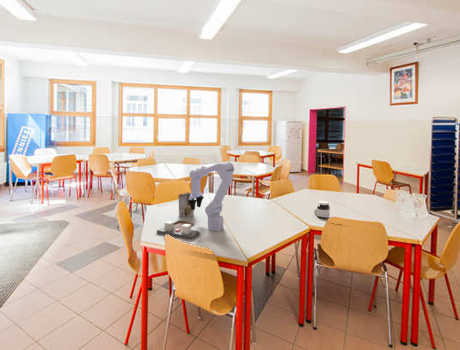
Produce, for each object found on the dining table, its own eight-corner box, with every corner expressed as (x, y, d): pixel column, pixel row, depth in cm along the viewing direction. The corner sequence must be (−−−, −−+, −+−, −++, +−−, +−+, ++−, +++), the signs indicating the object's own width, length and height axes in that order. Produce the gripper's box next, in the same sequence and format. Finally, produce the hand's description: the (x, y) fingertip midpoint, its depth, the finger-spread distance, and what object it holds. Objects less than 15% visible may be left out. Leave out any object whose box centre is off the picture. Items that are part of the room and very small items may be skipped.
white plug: (191, 235, 177) (191, 224, 175) (187, 238, 173) (187, 226, 172) (185, 234, 178) (185, 223, 177) (181, 237, 174) (181, 225, 173)
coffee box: (187, 213, 221) (187, 192, 219) (194, 215, 217) (193, 193, 215) (178, 216, 214) (178, 194, 212) (184, 218, 210) (184, 195, 208)
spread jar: (325, 220, 210) (326, 204, 208) (310, 217, 217) (311, 201, 215) (331, 216, 219) (332, 201, 217) (316, 213, 226) (317, 198, 224)
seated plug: (174, 232, 181) (174, 221, 180) (170, 235, 178) (170, 223, 176) (168, 231, 183) (168, 220, 182) (164, 233, 179) (164, 222, 178)
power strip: (199, 235, 177) (199, 230, 177) (191, 240, 169) (191, 235, 168) (165, 229, 187) (165, 224, 186) (156, 234, 178) (156, 228, 178)
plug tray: (194, 225, 195) (194, 222, 195) (184, 231, 184) (184, 228, 184) (178, 222, 200) (178, 220, 199) (168, 228, 189) (168, 225, 189)
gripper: (196, 185, 203) (196, 205, 205) (184, 189, 190) (184, 210, 192) (205, 186, 201) (205, 206, 203) (194, 190, 187) (194, 211, 190)
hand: (195, 208), depth 197 cm, fingers open, 7 cm apart
